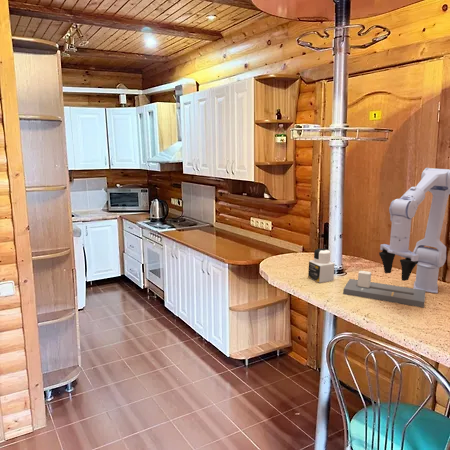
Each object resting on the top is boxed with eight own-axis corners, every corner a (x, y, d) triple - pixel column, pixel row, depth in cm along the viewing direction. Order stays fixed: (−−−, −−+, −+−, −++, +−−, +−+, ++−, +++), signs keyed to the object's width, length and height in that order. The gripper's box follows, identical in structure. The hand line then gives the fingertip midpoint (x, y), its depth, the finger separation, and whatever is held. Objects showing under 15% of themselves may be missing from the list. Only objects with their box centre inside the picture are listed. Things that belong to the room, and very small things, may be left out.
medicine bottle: (307, 277, 164) (309, 248, 161) (322, 275, 167) (324, 246, 164) (318, 283, 157) (320, 253, 155) (333, 280, 160) (335, 251, 158)
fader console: (349, 283, 157) (349, 278, 157) (424, 295, 146) (425, 289, 145) (343, 294, 147) (343, 288, 146) (424, 307, 135) (424, 301, 135)
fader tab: (358, 283, 151) (359, 270, 150) (370, 285, 149) (371, 272, 148) (357, 286, 148) (358, 272, 147) (369, 287, 147) (370, 274, 146)
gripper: (374, 232, 138) (371, 271, 141) (407, 242, 125) (403, 285, 128) (390, 230, 141) (387, 268, 144) (425, 240, 128) (420, 282, 130)
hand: (396, 276), depth 136 cm, fingers open, 7 cm apart
